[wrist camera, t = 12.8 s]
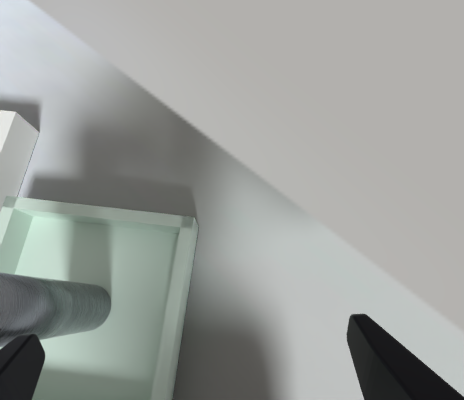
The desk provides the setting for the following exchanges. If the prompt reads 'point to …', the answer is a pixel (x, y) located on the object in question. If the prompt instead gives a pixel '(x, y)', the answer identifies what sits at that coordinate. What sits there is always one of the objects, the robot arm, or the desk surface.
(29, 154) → the socket block
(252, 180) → the desk surface
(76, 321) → the pin
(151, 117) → the desk surface
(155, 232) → the tray
